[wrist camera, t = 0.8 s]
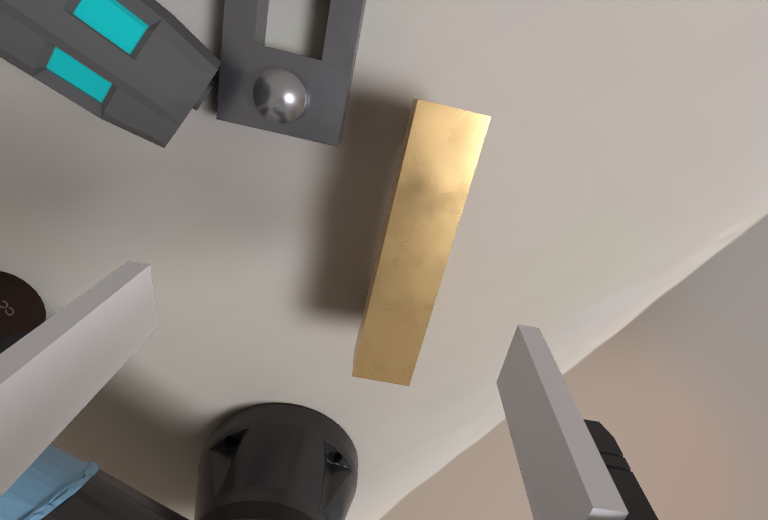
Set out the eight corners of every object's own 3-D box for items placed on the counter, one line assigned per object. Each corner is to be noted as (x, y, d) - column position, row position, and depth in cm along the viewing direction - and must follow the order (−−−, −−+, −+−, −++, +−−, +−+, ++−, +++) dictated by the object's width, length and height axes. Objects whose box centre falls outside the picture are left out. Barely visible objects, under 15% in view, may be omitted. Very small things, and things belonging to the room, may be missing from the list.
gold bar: (402, 325, 36) (409, 386, 28) (357, 316, 35) (352, 376, 28) (461, 110, 29) (491, 116, 22) (407, 97, 29) (418, 99, 21)
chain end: (340, 142, 30) (336, 148, 27) (229, 117, 29) (210, 119, 26) (372, -35, 26) (371, -53, 23) (243, -70, 25) (224, -94, 22)
